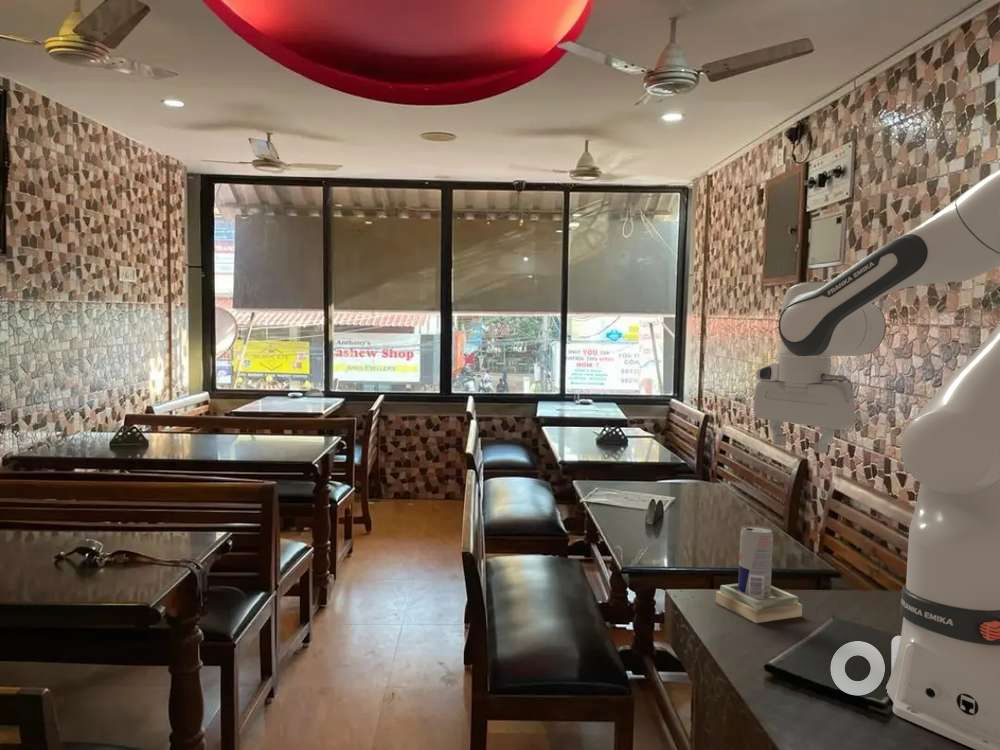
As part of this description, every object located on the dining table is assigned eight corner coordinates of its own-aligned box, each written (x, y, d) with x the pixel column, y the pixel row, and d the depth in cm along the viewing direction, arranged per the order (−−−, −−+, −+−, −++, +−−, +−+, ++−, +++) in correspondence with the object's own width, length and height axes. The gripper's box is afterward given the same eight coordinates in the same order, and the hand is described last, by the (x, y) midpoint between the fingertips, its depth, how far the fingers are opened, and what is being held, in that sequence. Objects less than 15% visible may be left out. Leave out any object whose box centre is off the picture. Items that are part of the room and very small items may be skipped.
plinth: (801, 616, 121) (802, 597, 121) (756, 623, 117) (757, 604, 117) (759, 596, 130) (760, 579, 130) (715, 602, 127) (716, 584, 126)
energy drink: (744, 589, 128) (747, 523, 127) (774, 597, 125) (777, 529, 124) (732, 597, 124) (736, 528, 123) (763, 605, 120) (767, 534, 120)
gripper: (866, 376, 120) (861, 457, 121) (774, 370, 139) (770, 441, 140) (839, 375, 118) (834, 458, 118) (749, 369, 137) (746, 441, 137)
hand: (799, 448), depth 129 cm, fingers open, 8 cm apart
